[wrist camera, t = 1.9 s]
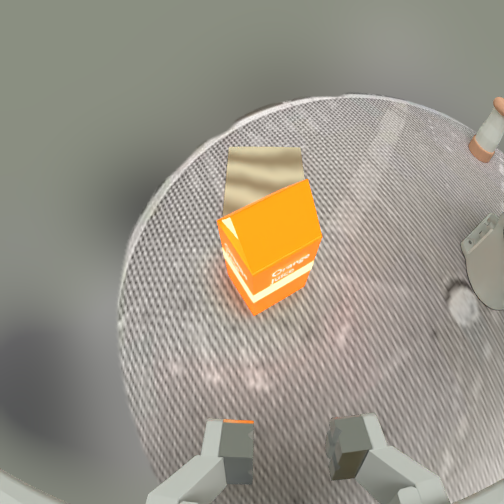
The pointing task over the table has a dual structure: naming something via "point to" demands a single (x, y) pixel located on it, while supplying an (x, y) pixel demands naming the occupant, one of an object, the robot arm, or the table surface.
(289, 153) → the board
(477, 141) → the pepper shaker
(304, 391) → the table surface
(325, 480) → the table surface
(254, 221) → the orange juice
